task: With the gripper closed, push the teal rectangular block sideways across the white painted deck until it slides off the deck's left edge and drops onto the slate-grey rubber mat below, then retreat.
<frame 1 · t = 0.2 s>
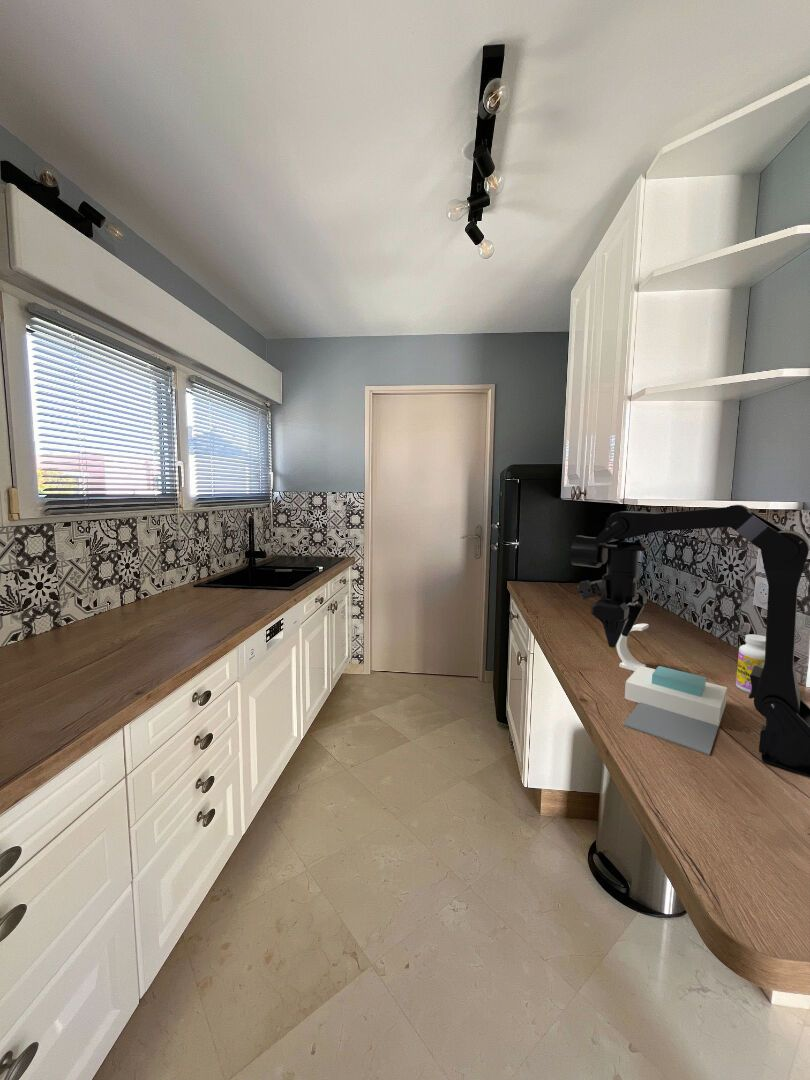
hand: (618, 641, 89), 14 cm above the countertop, fingers open, 9 cm apart
deck: (674, 701, 91), on the countertop
supplement bottle: (753, 690, 96), on the countertop
mat: (670, 726, 81), on the countertop
headphone stand: (630, 667, 110), on the countertop
teal rectangular block: (678, 685, 90), point 4 cm above the countertop, touching deck
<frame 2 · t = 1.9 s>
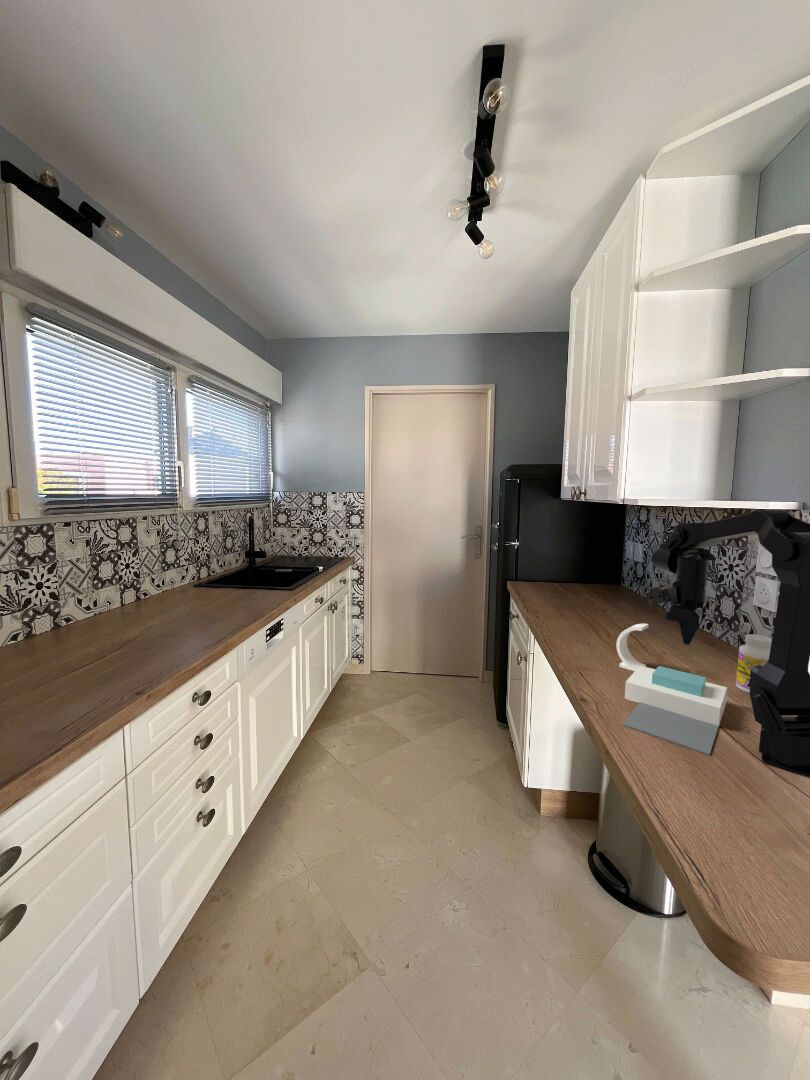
hand: (686, 644, 95), 12 cm above the countertop, fingers closed
nothing on the countertop moved.
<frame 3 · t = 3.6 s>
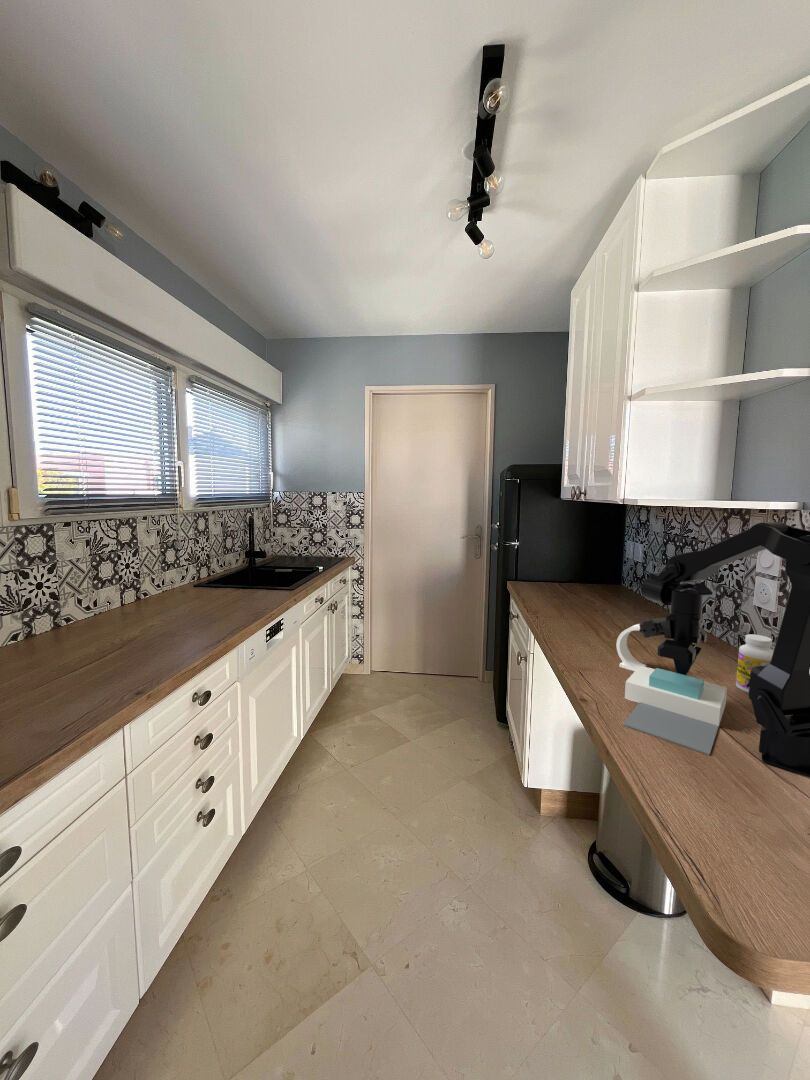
hand: (680, 678, 92), 5 cm above the countertop, fingers closed
teal rectangular block: (675, 687, 89), point 4 cm above the countertop, touching deck, gripper
everything else where it was.
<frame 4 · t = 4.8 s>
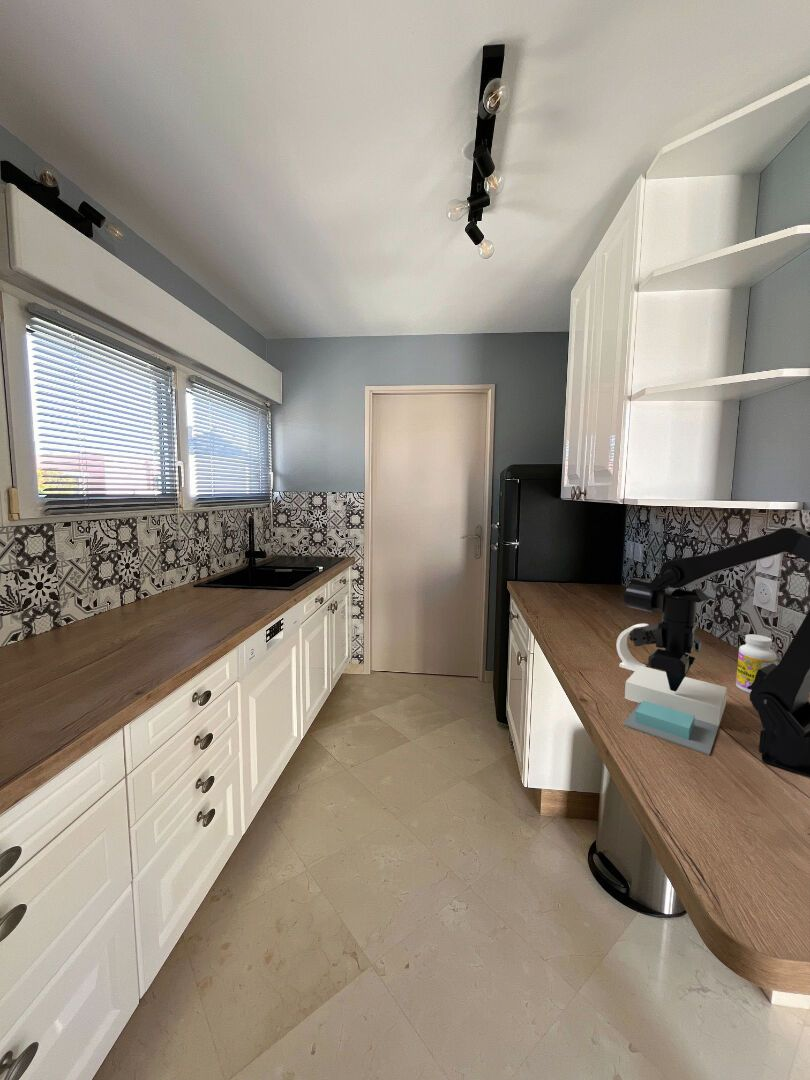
hand: (673, 690, 86), 5 cm above the countertop, fingers closed
teal rectangular block: (664, 713, 81), point 2 cm above the countertop, tilted 180°, touching mat
everything else where it was.
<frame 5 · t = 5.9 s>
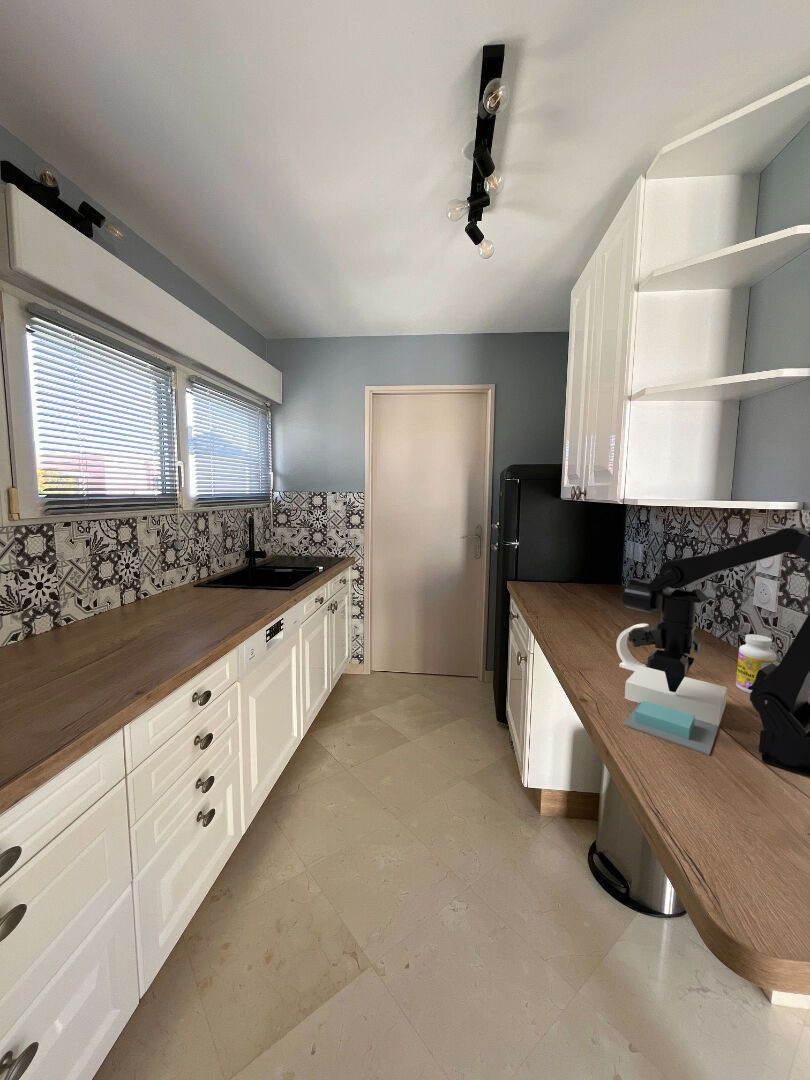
hand: (672, 691, 86), 5 cm above the countertop, fingers closed
nothing on the countertop moved.
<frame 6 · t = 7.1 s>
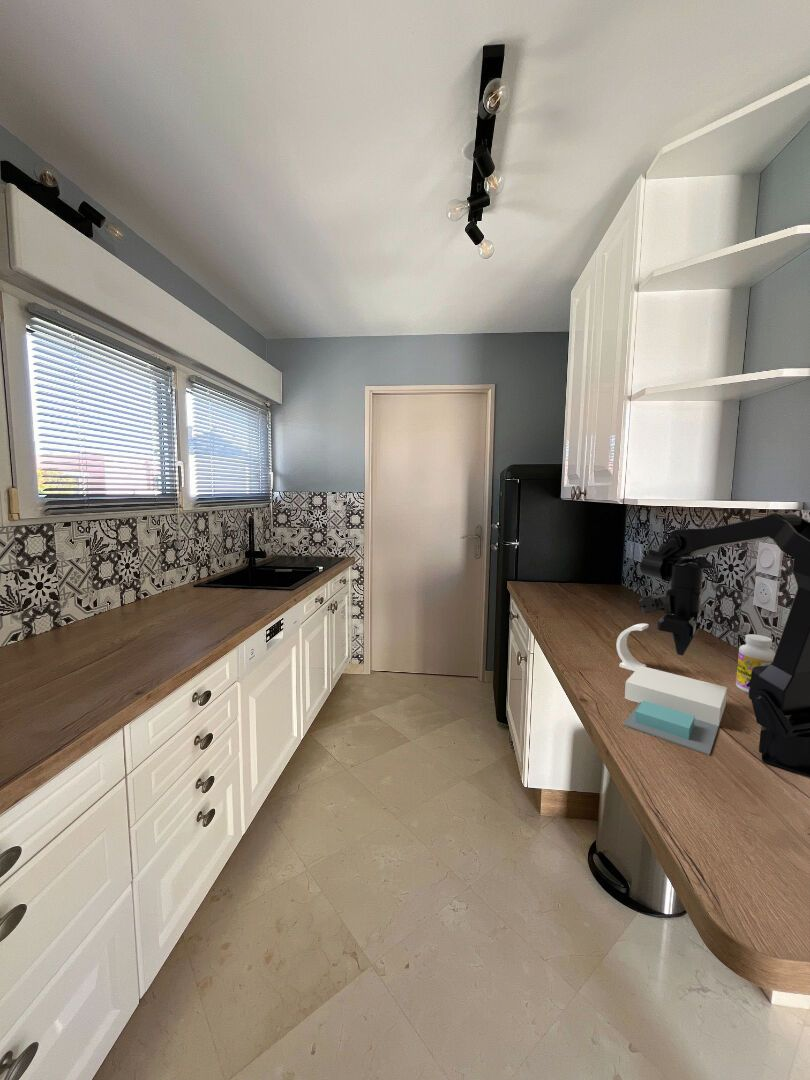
hand: (680, 654, 91), 10 cm above the countertop, fingers closed
nothing on the countertop moved.
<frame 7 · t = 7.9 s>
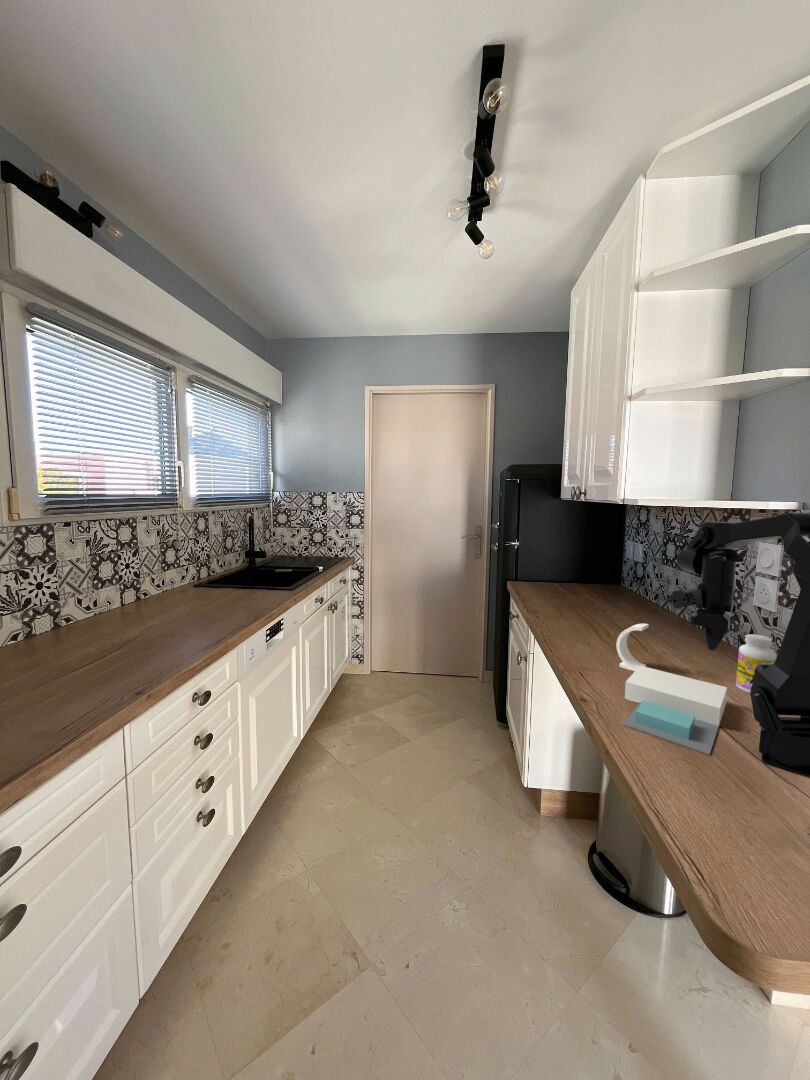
hand: (711, 649, 90), 12 cm above the countertop, fingers closed
nothing on the countertop moved.
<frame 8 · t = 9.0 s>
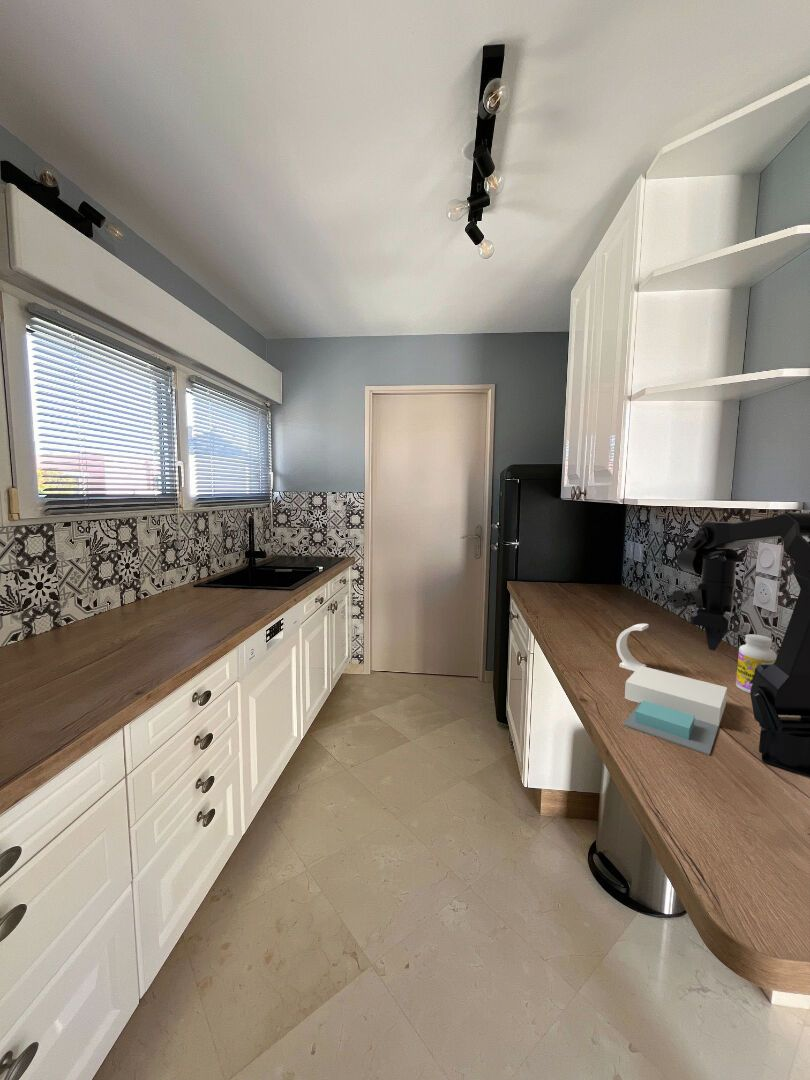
hand: (712, 649, 90), 12 cm above the countertop, fingers closed
nothing on the countertop moved.
at the end: teal rectangular block point 2.5 cm above the countertop; teal rectangular block inside the target area on the mat (1.1 cm from its centre), point 2.5 cm above the mat's base; teal rectangular block moved 12.6 cm from its start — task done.
